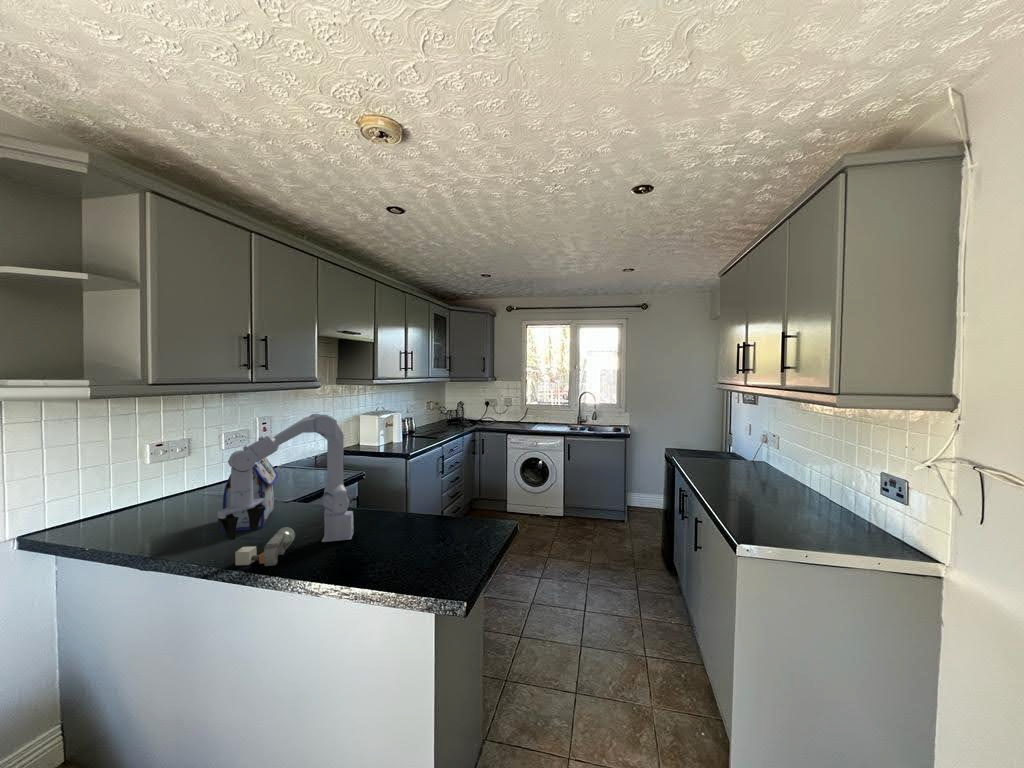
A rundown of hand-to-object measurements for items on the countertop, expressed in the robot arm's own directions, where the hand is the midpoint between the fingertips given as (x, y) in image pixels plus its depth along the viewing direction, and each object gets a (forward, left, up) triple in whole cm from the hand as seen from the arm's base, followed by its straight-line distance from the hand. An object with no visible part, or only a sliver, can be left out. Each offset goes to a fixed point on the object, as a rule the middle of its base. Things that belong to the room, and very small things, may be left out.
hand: (242, 534), depth 128 cm
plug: (-3, +1, -8) cm, 9 cm away
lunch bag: (+11, -41, -9) cm, 43 cm away
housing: (-9, -4, -8) cm, 13 cm away
